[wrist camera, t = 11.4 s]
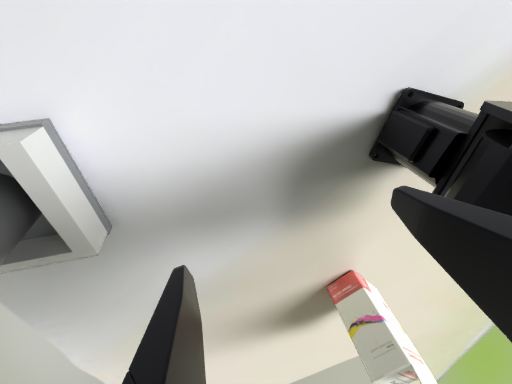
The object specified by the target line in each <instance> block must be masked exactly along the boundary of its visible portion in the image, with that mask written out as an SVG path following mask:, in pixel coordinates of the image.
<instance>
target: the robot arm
mask: <svg viewBox="0 0 512 384" xmlns="http://www.w3.org/2000/svg"><path fill="white" fill-rule="evenodd" d="M409 93H410V94H409ZM408 94H409V96H408ZM463 107H464V103H463V102H460V101H457V100H453V99H450V98H446V97H443V96H439V95H435V94H432V93H428V92H425V91H421V90H417V89H414V88H406V89H405V90H404V91H403V92H402V94H401V96H400V98H399V100H398V102H397V103H396V105H395V107H394V109H393V111H392V113H391V115H390V117H389V118H388V120H387V122H386V124H385V126H384V128H383V130H382V132H381V133H380V135H379V137H378V139H377V141H376V143H375V145H374V147H373V148H372V150H371V152H370V155H369V157H370V158H371V159H372V160H374V161H380V162H386V163H392V164H399V165H403V166H405V167H406V168H408V169H409V170H411V171H412V172H413V173H415V174H416V175H418V176H419V177H421V178H422V179H423V180H425V181H426V182H428V183H429V184H431V185H432V186H434V187H435V189H434V190H433V192H432V193H429V192H425V191H422V190H418V189H415V188H411V187H408V186H400V187H398V188H395V189H394V190H393V194H392V199H391V206H392V208H393V210H394V211H395V212H396V214H397V215H398V216H399V218H400V219H401V220H402V222H403V223H404V224H405V226H406V227H407V228H408V230H409V231H410V232H411V234H412V235H413V236H414V237H415V238H416V240H417V241H418V242H419V243H420V244H421V245H422V246H423V247H424V248H425V249H426V250H427V252H428V253H429V254H430V255H431V256H432V257H433V258H434V259H435V260H436V261H437V262H438V263H439V264H440V266H441V267H442V268H443V269H444V270H445V271H446V272H447V273H448V274H449V275H450V276H451V277H452V278H453V280H454V281H455V282H456V283H457V284H458V285H459V286H460V287H461V288H462V289H463V290H464V291H465V292H466V294H467V295H468V296H469V297H470V298H471V299H472V300H473V301H474V302H475V303H476V304H477V305H478V306H479V308H480V309H481V310H482V311H483V312H484V313H485V314H486V315H487V316H488V317H489V318H490V319H491V320H492V322H493V323H494V324H495V325H496V326H497V327H498V328H499V329H500V330H501V331H502V332H503V333H504V335H506V336H507V338H508V339H509V340H510V341H511V342H512V102H503V101H484V103H483V105H482V106H481V108H480V110H481V111H480V113H479V114H475V113H472V112H469V111H466V110H463ZM375 154H376V156H375ZM122 384H206V377H205V363H204V348H203V334H202V322H201V315H200V309H199V304H198V299H197V293H196V288H195V283H194V279H193V276H192V275H191V273H190V272H189V270H188V269H187V267H186V266H185V265H182V266H179V267H176V268H174V269H173V271H172V273H171V276H170V278H169V280H168V282H167V285H166V287H165V289H164V291H163V294H162V296H161V298H160V300H159V302H158V305H157V307H156V309H155V311H154V314H153V316H152V318H151V320H150V323H149V325H148V327H147V329H146V332H145V334H144V336H143V338H142V340H141V343H140V345H139V347H138V349H137V352H136V354H135V356H134V358H133V361H132V363H131V365H130V367H129V371H128V372H127V374H126V376H125V378H124V380H123V383H122Z"/></svg>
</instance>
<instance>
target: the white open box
mask: <svg viewBox="0 0 512 384" xmlns="http://www.w3.org/2000/svg"><path fill="white" fill-rule="evenodd" d="M0 173H2V174H5V175H8V176H11V177H13V178H15V179H16V180H17V181H18V183H19V184H20V185H21V186H22V188H23V189H24V190H25V192H26V193H27V194H28V195H29V197H30V198H31V199H32V200H33V202H34V203H35V204H36V206H37V207H38V208H39V209H40V211H41V212H42V213H41V215H40V217H39V218H38V219H37V221H36V222H35V223H34V224H33V225H32V227H31V228H30V229H29V230H28V232H27V233H26V234H25V235H24V236H23V238H22V239H21V240H20V241H19V243H18V244H17V245H16V246H15V248H14V249H13V250H12V251H11V252H10V254H9V255H8V256H7V257H6V259H5V260H4V261H3V262H2V263H1V265H0V274H1V273H6V272H11V271H16V270H22V269H27V268H32V267H38V266H43V265H48V264H53V263H59V262H64V261H69V260H75V259H80V258H85V257H90V256H96V255H98V254H99V252H100V250H101V247H102V245H103V243H104V240H105V238H106V236H107V235H108V234H109V233H110V230H111V228H112V226H111V224H110V222H109V221H108V219H107V217H106V215H105V214H104V212H103V210H102V209H101V207H100V205H99V203H98V202H97V200H96V198H95V197H94V195H93V193H92V191H91V190H90V188H89V186H88V185H87V183H86V181H85V179H84V178H83V176H82V174H81V173H80V171H79V169H78V167H77V166H76V164H75V162H74V160H73V159H72V157H71V155H70V154H69V152H68V150H67V148H66V147H65V145H64V143H63V142H62V140H61V138H60V136H59V135H58V133H57V131H56V130H55V128H54V126H53V124H52V123H51V121H50V119H49V118H48V119H40V120H32V121H24V122H16V123H8V124H0Z"/></svg>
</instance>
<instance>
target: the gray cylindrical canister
mask: <svg viewBox="0 0 512 384" xmlns="http://www.w3.org/2000/svg"><path fill="white" fill-rule="evenodd" d="M41 213H42V212H41V211H40V209H39V208H38V207H37V206H36V204H35V203H34V202H33V200H32V199H31V198H30V197H29V195H28V194H27V193H26V192H25V190H24V189H23V188H22V186H21V185H20V184H19V183H18V181H17V180H16V179H15V178H13V177H11V176H8V175H5V174H2V173H0V265H1V263H2V262H3V261H4V260H5V259H6V257H7V256H8V255H9V254H10V252H11V251H12V250H13V249H14V248H15V246H16V245H17V244H18V243H19V241H20V240H21V239H22V238H23V236H24V235H25V234H26V233H27V232H28V230H29V229H30V228H31V227H32V225H33V224H34V223H35V222H36V221H37V219H38V218H39V217H40V215H41Z"/></svg>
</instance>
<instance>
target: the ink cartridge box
mask: <svg viewBox="0 0 512 384" xmlns="http://www.w3.org/2000/svg"><path fill="white" fill-rule="evenodd" d="M327 289H328V291H329V294H330V296H331V298H332V300H333V302H334V304H335V306H336V308H337V310H338V312H339V314H340V316H341V319H342V321H343V323H344V325H345V327H346V329H347V331H348V333H349V335H350V337H351V339H352V341H353V343H354V345H355V348H356V350H357V352H358V354H359V356H360V358H361V360H362V362H363V365H364V367H365V369H366V371H367V373H368V375H369V377H370V379H371V382H372V383H375V384H412V383H414V382H416V381H418V380H419V381H420V383H421V384H437V383H436V381H435V379H434V377H433V375H432V374H431V372H430V370H429V369H428V367H427V366H426V364H425V362H424V361H423V359H422V358H421V356H420V355H419V353H418V352H417V350H416V349H415V347H414V346H413V344H412V343H411V341H410V340H409V338H408V336H407V335H406V334H405V332H404V330H403V329H402V327H401V326H400V324H399V323H398V321H397V320H396V318H395V317H394V315H393V314H392V312H391V311H390V309H389V308H388V306H387V304H386V303H385V301H384V300H383V298H382V297H381V295H380V294H379V292H378V291H377V289H376V288H375V287H374V286H372V285H371V284H370V283H369V282H367V281H366V280H365V279H363V278H362V277H361V276H359V275H358V274H357V273H355V272H354V271H353V270H352V271H350V272H349V273H347V274H346V275H344V276H343V277H341V278H339V279H338V280H336V281H335V282H333V283H331V284H330V285H328V286H327Z"/></svg>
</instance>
